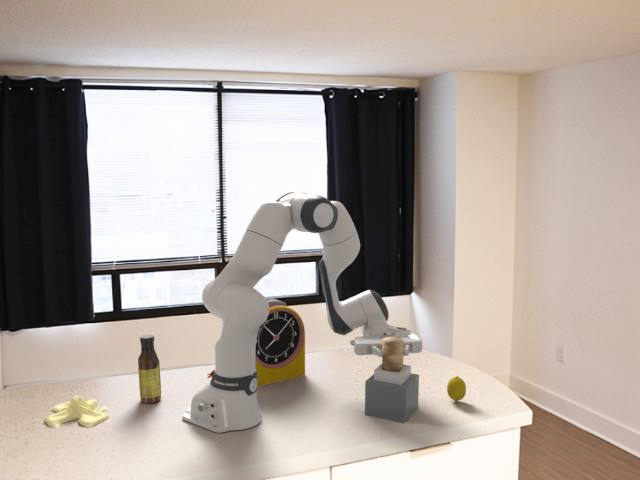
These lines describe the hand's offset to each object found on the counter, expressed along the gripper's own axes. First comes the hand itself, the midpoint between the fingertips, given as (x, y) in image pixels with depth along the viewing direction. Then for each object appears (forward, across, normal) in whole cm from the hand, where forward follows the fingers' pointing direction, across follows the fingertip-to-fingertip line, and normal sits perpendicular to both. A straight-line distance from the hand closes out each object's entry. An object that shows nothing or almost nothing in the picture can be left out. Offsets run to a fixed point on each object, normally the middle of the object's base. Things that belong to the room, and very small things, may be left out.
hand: (393, 353), depth 175 cm
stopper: (-1, 0, +8) cm, 8 cm away
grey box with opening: (-1, 0, +18) cm, 18 cm away
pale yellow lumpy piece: (-12, -89, +18) cm, 92 cm away
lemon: (-5, +21, +18) cm, 28 cm away
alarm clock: (-33, -33, +18) cm, 50 cm away
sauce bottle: (-18, -70, +18) cm, 75 cm away
